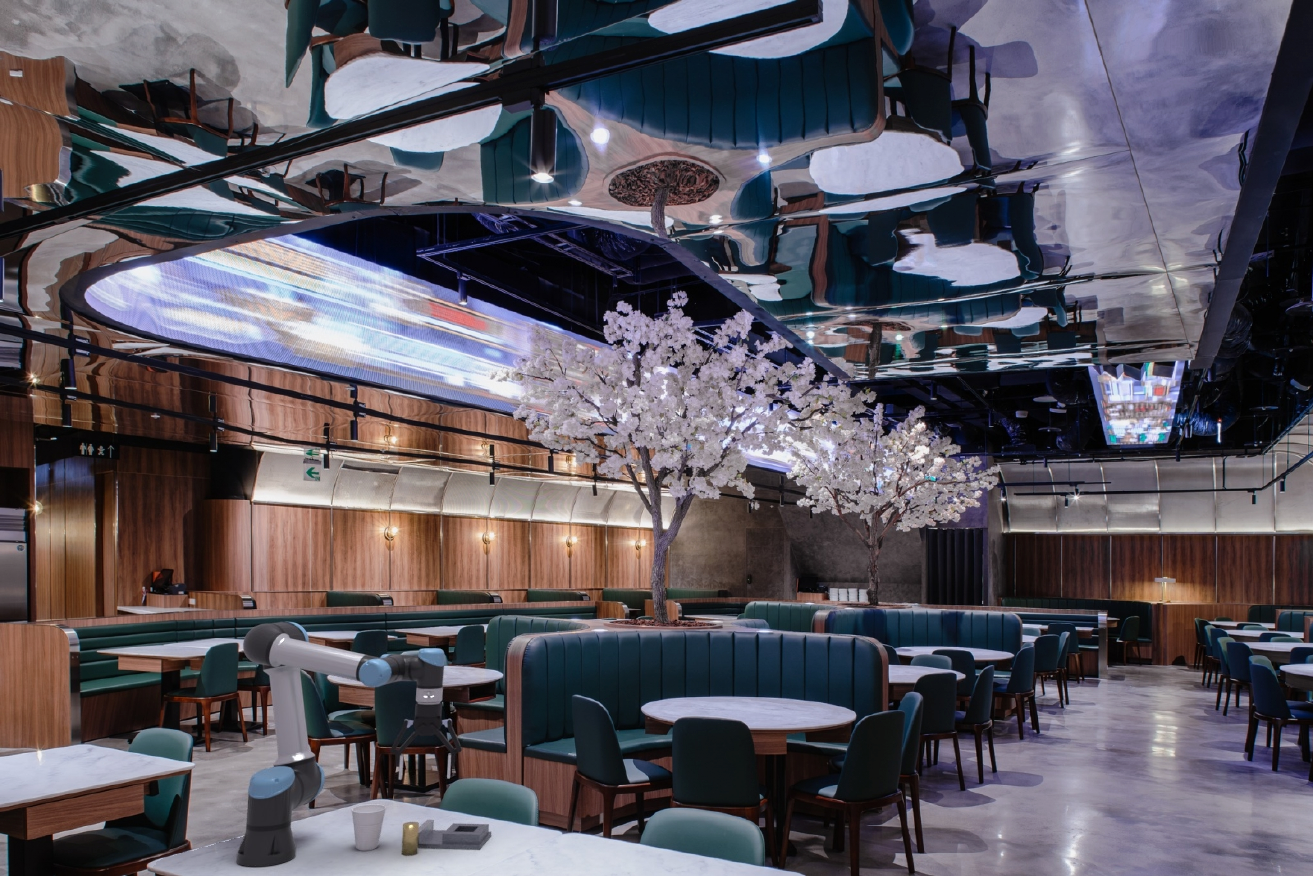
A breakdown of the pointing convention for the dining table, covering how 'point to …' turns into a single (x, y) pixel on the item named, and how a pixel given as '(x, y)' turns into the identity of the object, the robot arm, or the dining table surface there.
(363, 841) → the cup
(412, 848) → the cylinder
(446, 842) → the jig
